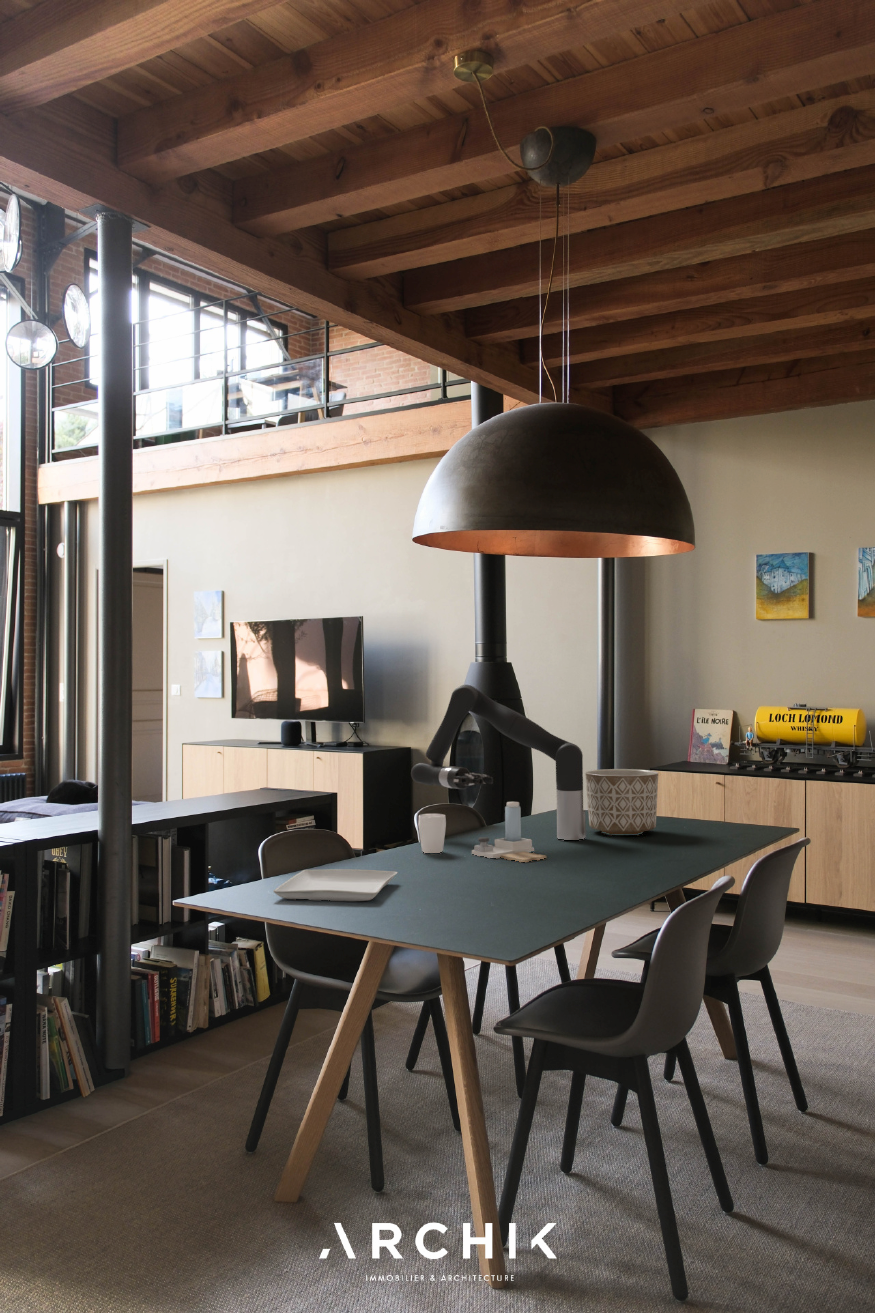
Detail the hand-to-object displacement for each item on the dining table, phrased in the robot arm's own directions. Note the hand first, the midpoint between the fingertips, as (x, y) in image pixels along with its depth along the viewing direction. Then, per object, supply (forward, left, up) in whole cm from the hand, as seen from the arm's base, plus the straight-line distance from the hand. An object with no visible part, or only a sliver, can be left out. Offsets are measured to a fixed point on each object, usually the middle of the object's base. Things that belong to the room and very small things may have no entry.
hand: (487, 781), depth 330 cm
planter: (-56, +10, -22) cm, 61 cm away
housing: (+5, +12, -22) cm, 26 cm away
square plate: (+76, +25, -23) cm, 83 cm away
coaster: (+6, +23, -22) cm, 33 cm away
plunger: (+11, +10, -21) cm, 25 cm away
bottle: (0, +12, -20) cm, 24 cm away
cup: (+20, -5, -22) cm, 30 cm away
